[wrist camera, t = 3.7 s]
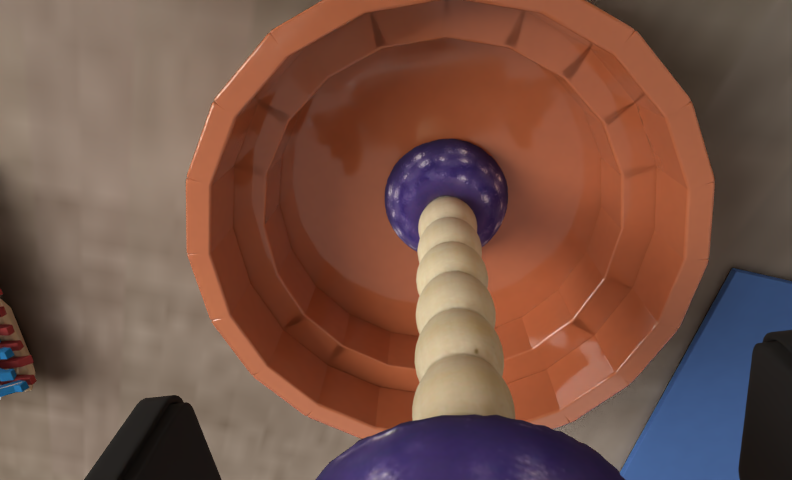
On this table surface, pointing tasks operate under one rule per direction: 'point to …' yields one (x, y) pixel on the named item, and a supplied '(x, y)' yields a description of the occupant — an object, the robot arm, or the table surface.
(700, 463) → the cloth
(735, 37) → the table surface
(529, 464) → the toy lamp
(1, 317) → the woven mat
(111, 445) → the robot arm
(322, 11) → the bowl
